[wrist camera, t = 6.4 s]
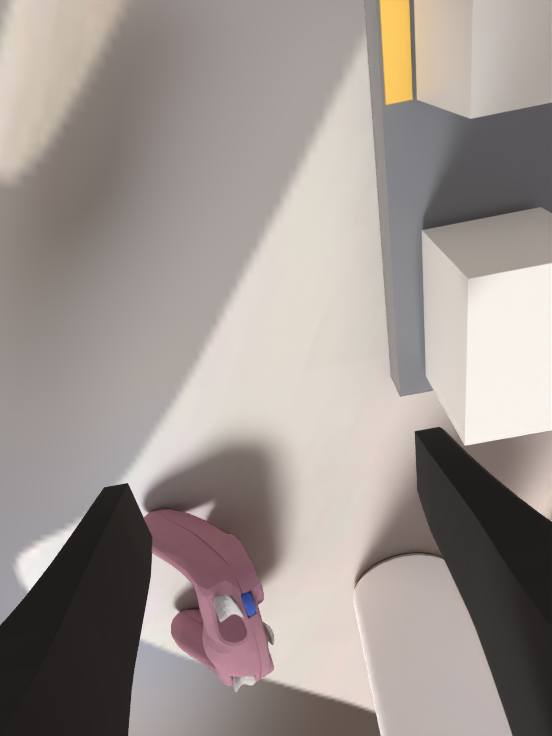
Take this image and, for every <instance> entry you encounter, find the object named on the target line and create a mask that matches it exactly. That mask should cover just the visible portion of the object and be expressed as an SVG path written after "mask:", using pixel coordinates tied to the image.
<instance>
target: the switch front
mask: <svg viewBox="0 0 552 736" xmlns="http://www.w3.org/2000/svg"><path fill="white" fill-rule="evenodd" d="M414 18H415V52H416V86H417V100H419V101H422V102H425V103H427V104H430V105H433V106H436V107H439V108H441V109H444V110H447V111H450V112H453V113H455V114H458V115H461V116H464V117H466V118H469V119H472V118H477V117H482V116H487V115H492V114H497V113H502V112H507V111H512V110H517V109H522V108H527V107H532V106H537V105H542V104H547V103H552V0H414Z"/></svg>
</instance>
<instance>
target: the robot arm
mask: <svg viewBox="0 0 552 736" xmlns="http://www.w3.org/2000/svg"><path fill="white" fill-rule="evenodd" d="M415 447H416V470H417V491H418V494H419V497H420V500H421V503H422V506H423V510H424V513H425V516H426V519H427V522H428V524H429V527H430V530H431V532H432V534H433V537H434V539H435V541H436V543H437V545H438V547H439V550H440V552H441V554H442V556H443V558H444V560H445V563H446V565H447V567H448V569H449V571H450V573H451V575H452V578H453V580H454V582H455V584H456V586H457V588H458V591H459V593H460V595H461V597H462V599H463V601H464V603H465V606H466V608H467V610H468V612H469V615H470V617H471V619H472V622H473V624H474V627H475V629H476V632H477V634H478V637H479V640H480V643H481V646H482V648H483V651H484V654H485V657H486V660H487V662H488V665H489V668H490V671H491V674H492V677H493V680H494V682H495V685H496V688H497V691H498V694H499V697H500V700H501V703H502V706H503V709H504V712H505V715H506V718H507V721H508V724H509V727H510V730H511V733H512V736H552V522H551V521H550V520H549V519H547V518H546V517H544V516H543V515H542V514H540V513H539V512H538V511H536V510H535V509H533V508H532V507H531V506H530V505H528V504H527V503H526V502H524V501H523V500H522V499H520V498H519V497H518V496H517V495H515V494H514V493H513V492H512V491H510V490H509V489H508V488H507V487H506V486H504V485H503V484H502V483H501V482H500V481H498V480H497V479H496V478H495V477H494V476H493V475H491V474H490V473H489V472H488V471H487V470H486V469H485V468H483V467H482V466H481V465H480V464H479V463H478V462H477V461H476V460H475V459H473V458H472V457H471V456H470V455H469V454H468V453H467V452H466V451H465V450H464V449H463V448H462V447H461V446H460V445H459V444H458V443H457V442H456V441H455V440H454V439H453V438H452V437H451V436H450V435H449V434H448V433H447V432H446V431H445V430H443V429H442V428H441V427H437V428H431V429H425V430H420V431H415ZM152 538H153V537H152V535H151V533H150V531H149V529H148V526H147V524H146V522H145V520H144V518H143V515H142V513H141V511H140V509H139V507H138V504H137V502H136V500H135V498H134V496H133V493H132V491H131V489H130V487H129V485H128V483H126V484H121V485H115V486H109V487H104V488H103V490H102V491H101V493H100V494H99V496H98V497H97V498H96V500H95V501H94V503H93V504H92V506H91V507H90V508H89V510H88V511H87V513H86V514H85V516H84V517H83V519H82V520H81V522H80V523H79V525H78V526H77V528H76V529H75V530H74V532H73V533H72V535H71V536H70V538H69V539H68V540H67V542H66V543H65V545H64V546H63V547H62V549H61V550H60V552H59V553H58V554H57V556H56V557H55V559H54V560H53V561H52V563H51V564H50V566H49V567H48V568H47V569H46V571H45V572H44V573H43V575H42V576H41V577H40V578H39V580H38V581H37V582H36V584H35V585H34V586H33V587H32V589H31V590H30V591H29V593H28V594H27V595H26V596H25V598H24V599H23V600H22V601H21V602H20V604H19V605H18V606H17V607H16V609H14V611H13V612H12V613H11V614H10V615H9V616H8V617H7V619H6V620H5V621H4V622H3V623H2V624H1V625H0V736H128V728H129V715H130V703H131V690H132V683H133V674H134V668H135V662H136V657H137V651H138V646H139V640H140V635H141V629H142V624H143V618H144V613H145V607H146V601H147V595H148V590H149V584H150V577H151V563H152Z"/></svg>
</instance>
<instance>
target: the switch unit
mask: <svg viewBox="0 0 552 736" xmlns="http://www.w3.org/2000/svg"><path fill="white" fill-rule="evenodd" d="M364 7H365V21H366V35H367V49H368V63H369V77H370V91H371V105H372V119H373V133H374V147H375V161H376V175H377V189H378V203H379V217H380V231H381V245H382V259H383V273H384V287H385V301H386V315H387V329H388V343H389V357H390V371H391V378H392V380H393V382H394V385H395V387H396V389H397V391H398V393H399V395H400V397H401V396H406V395H412V394H417V393H423V392H428V391H434V390H433V388H432V386H431V385H430V383H429V381H428V379H427V378H426V366H425V330H424V295H423V260H422V230H425V229H430V228H435V227H441V226H446V225H451V224H456V223H461V222H466V221H471V220H477V219H482V218H487V217H492V216H497V215H502V214H508V213H513V212H518V211H523V210H528V209H533V208H538V207H542V208H543V209H545V210H547V211H549V212H550V213H552V103H547V104H542V105H537V106H532V107H527V108H522V109H517V110H512V111H507V112H502V113H497V114H492V115H487V116H482V117H477V118H472V119H469V118H466V117H464V116H461V115H458V114H455V113H453V112H450V111H447V110H444V109H441V108H439V107H436V106H433V105H430V104H427V103H425V102H422V101H419V100H417V86H416V52H415V18H414V0H364Z"/></svg>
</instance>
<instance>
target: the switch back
mask: <svg viewBox="0 0 552 736" xmlns="http://www.w3.org/2000/svg"><path fill="white" fill-rule="evenodd" d="M422 260H423V295H424V330H425V366H426V378H427V379H428V381H429V383H430V385H431V386H432V388H433V390H434V392H435V394H436V395H437V397H438V399H439V401H440V402H441V404H442V406H443V408H444V410H445V411H446V413H447V415H448V417H449V419H450V420H451V422H452V424H453V426H454V427H455V429H456V431H457V433H458V435H459V436H460V438H461V440H462V442H463V443H464V445H465V446H466V445H472V444H477V443H483V442H489V441H494V440H500V439H505V438H511V437H517V436H522V435H528V434H533V433H539V432H545V431H550V430H552V213H550V212H549V211H547V210H545V209H543V208H542V207H538V208H533V209H528V210H523V211H518V212H513V213H508V214H502V215H497V216H492V217H487V218H482V219H477V220H471V221H466V222H461V223H456V224H451V225H446V226H441V227H435V228H430V229H425V230H422Z"/></svg>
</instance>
